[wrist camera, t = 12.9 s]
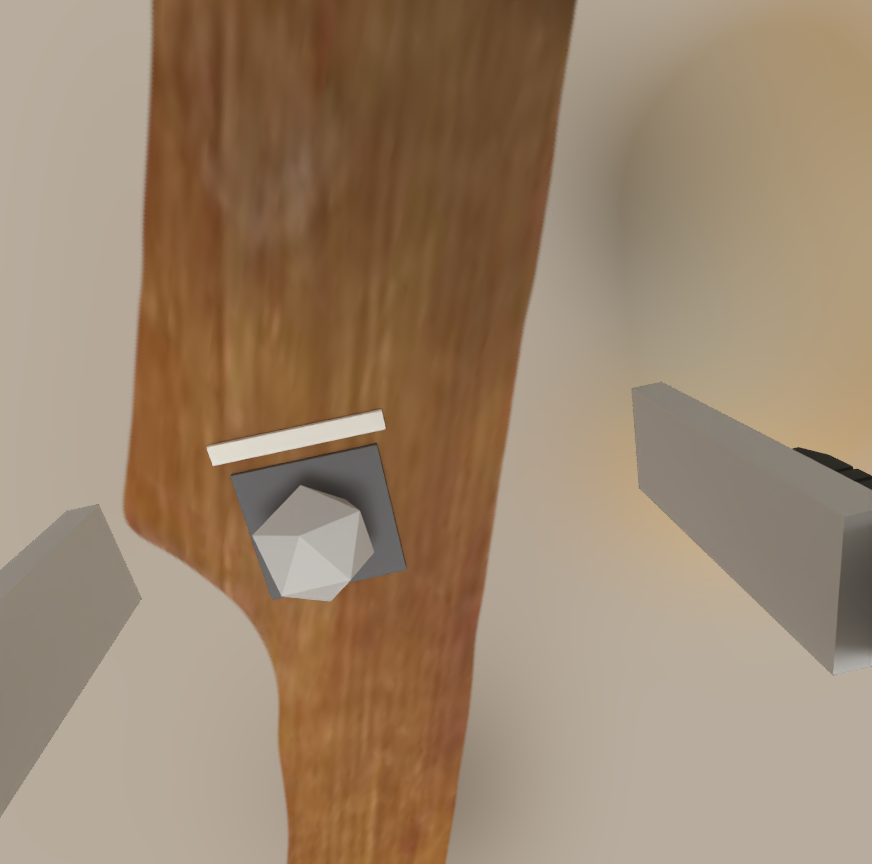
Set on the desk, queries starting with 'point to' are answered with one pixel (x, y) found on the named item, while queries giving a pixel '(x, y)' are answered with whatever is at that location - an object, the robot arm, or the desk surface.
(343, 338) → the desk surface
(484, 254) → the desk surface
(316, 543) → the die
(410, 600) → the desk surface
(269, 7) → the desk surface
